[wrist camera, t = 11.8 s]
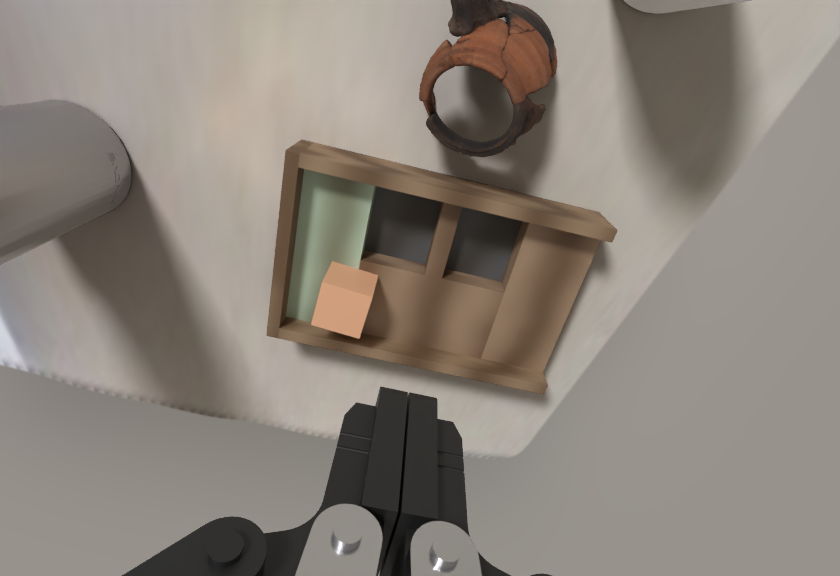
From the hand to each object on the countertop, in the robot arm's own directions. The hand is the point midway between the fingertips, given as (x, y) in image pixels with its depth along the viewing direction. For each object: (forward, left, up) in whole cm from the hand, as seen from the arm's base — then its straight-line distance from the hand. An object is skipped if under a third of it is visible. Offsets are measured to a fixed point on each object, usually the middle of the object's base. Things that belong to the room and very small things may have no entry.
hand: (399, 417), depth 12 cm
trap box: (+3, -8, -29) cm, 30 cm away
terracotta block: (-4, -11, -26) cm, 29 cm away
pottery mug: (+2, +9, -29) cm, 31 cm away
